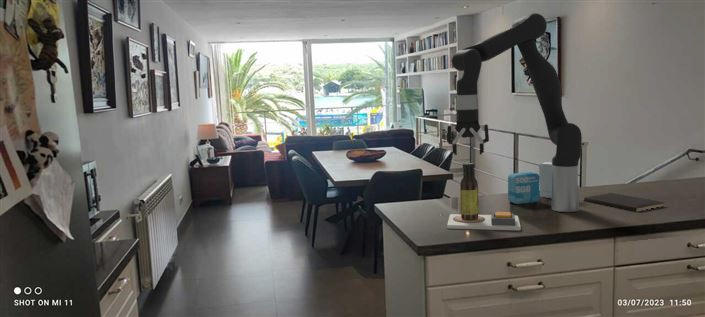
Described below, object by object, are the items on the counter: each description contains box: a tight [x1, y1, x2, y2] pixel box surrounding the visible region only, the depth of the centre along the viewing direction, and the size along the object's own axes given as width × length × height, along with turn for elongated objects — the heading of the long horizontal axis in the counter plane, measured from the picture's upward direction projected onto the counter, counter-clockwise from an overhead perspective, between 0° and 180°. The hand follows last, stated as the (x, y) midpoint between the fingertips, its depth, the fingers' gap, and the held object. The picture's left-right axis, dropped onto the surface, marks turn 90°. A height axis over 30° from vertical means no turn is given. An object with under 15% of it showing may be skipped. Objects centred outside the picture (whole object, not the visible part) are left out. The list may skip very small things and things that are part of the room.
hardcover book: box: [583, 192, 665, 213], centre depth 203 cm, size 16×23×2 cm
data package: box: [507, 171, 540, 205], centre depth 212 cm, size 12×4×12 cm, turn 106°
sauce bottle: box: [459, 162, 480, 220], centre depth 182 cm, size 6×6×20 cm
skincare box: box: [538, 161, 552, 199], centre depth 220 cm, size 8×6×15 cm
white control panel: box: [446, 212, 522, 231], centre depth 181 cm, size 24×16×4 cm, turn 76°
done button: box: [494, 211, 512, 218], centre depth 176 cm, size 5×5×2 cm
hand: (468, 154), depth 180 cm, fingers open, 8 cm apart
